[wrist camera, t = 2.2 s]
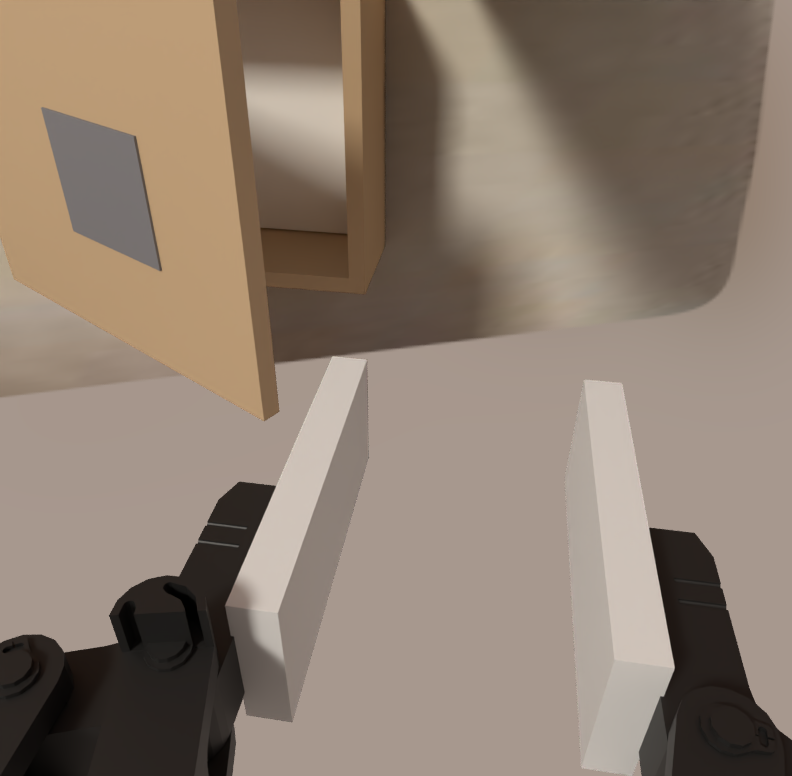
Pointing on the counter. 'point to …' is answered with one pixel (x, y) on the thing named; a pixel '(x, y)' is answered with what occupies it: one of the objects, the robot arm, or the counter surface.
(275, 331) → the counter surface
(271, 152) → the base
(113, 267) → the mailer lid
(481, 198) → the counter surface
